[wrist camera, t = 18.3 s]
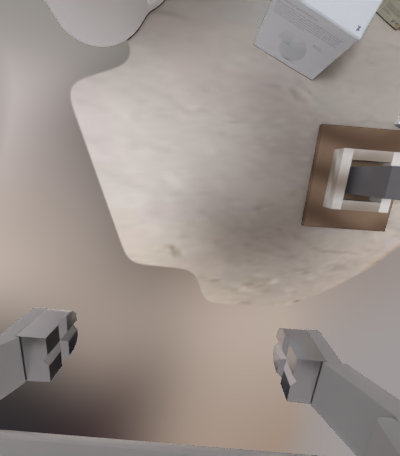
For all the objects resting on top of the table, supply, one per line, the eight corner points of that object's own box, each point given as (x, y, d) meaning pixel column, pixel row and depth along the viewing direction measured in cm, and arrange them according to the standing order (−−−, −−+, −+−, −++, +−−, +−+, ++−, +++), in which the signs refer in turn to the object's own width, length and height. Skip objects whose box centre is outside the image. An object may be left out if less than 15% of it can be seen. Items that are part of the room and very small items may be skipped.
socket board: (319, 125, 36) (332, 120, 32) (406, 132, 36) (428, 128, 33) (301, 224, 40) (311, 229, 36) (380, 230, 40) (396, 235, 37)
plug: (346, 166, 36) (392, 165, 28) (370, 168, 36) (424, 168, 28) (340, 192, 37) (384, 198, 29) (364, 193, 37) (415, 200, 29)
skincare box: (336, 36, 33) (398, -24, 23) (311, 81, 34) (359, 43, 24) (274, -4, 32) (311, -87, 21) (251, 44, 33) (275, -13, 23)
